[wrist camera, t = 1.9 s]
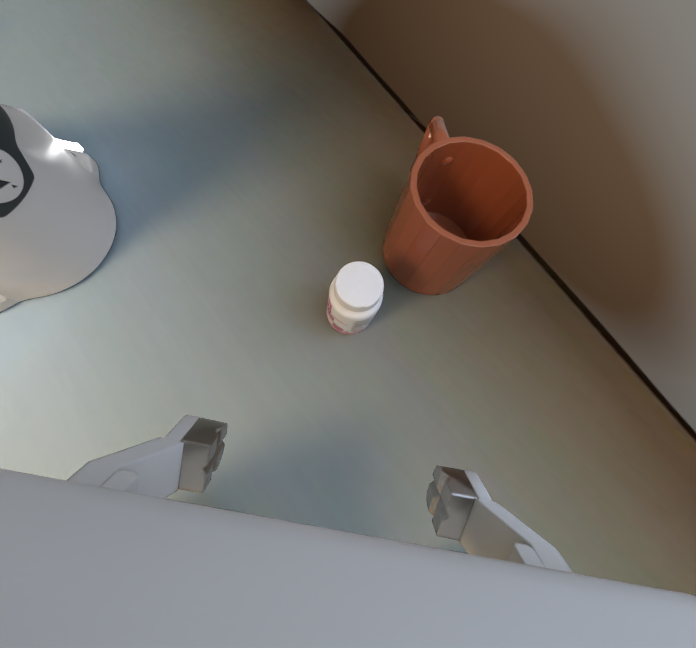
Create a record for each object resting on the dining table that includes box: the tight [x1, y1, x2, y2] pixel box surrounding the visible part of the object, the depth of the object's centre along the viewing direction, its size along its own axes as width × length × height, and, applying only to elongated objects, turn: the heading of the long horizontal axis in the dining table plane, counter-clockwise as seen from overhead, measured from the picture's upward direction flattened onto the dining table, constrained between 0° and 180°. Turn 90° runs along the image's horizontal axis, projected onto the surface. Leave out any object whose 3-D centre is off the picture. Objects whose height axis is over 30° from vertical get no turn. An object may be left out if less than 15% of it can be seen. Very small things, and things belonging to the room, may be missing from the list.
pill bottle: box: [327, 261, 384, 334], centre depth 31 cm, size 5×5×8 cm
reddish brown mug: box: [383, 116, 533, 295], centre depth 33 cm, size 14×10×11 cm
